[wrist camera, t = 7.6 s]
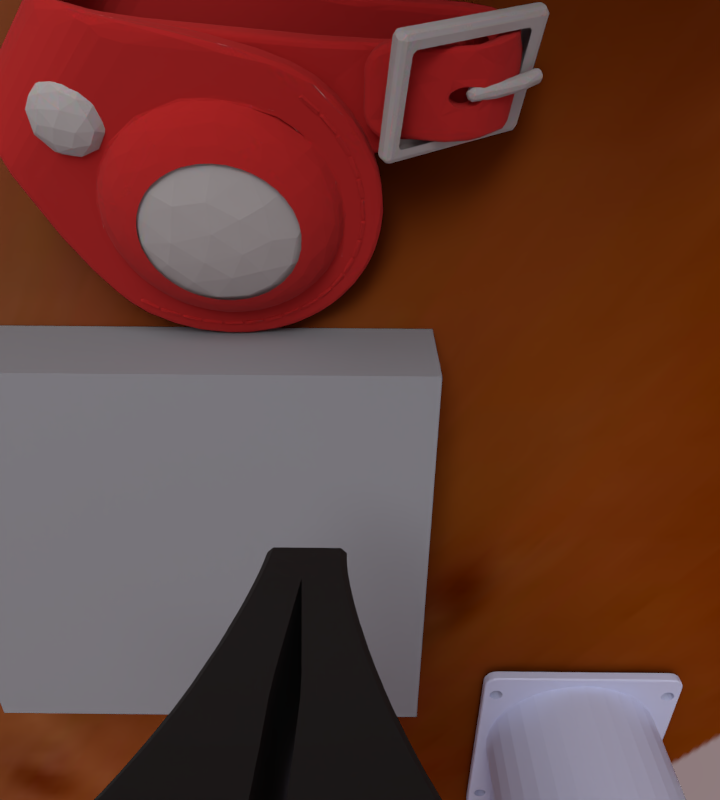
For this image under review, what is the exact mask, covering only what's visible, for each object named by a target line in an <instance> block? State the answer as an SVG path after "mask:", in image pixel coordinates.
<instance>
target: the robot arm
mask: <svg viewBox="0 0 720 800" xmlns="http://www.w3.org/2000/svg"><path fill="white" fill-rule="evenodd" d="M681 690H682V683H681V681H680V678H679V677H678V676H677V675H675V674H672V673H611V672H513V671H496V672H491V673H489V674H487V675H486V676H485V678H484V681H483V687H482V694H481V701H480V707H479V714H478V721H477V728H476V734H475V741H474V748H473V754H472V761H471V768H470V775H469V781H468V788H467V795H466V800H686V799H685V796H684V794H683V791H682V788H681V786H680V784H679V781H678V779H677V776H676V774H675V771H674V769H673V766H672V764H671V761H670V759H669V756H668V754H667V751H666V749H665V747H664V744H663V742H662V740H663V737H664V735H665V732H666V730H667V727H668V724H669V722H670V719H671V716H672V714H673V711H674V708H675V706H676V703H677V701H678V698H679V695H680V693H681ZM94 800H442V799H441V798H440V796H439V794H438V792H437V791H436V789H435V787H434V786H433V784H432V782H431V781H430V779H429V777H428V776H427V774H426V772H425V770H424V769H423V767H422V765H421V763H420V761H419V759H418V757H417V755H416V754H415V752H414V750H413V748H412V746H411V744H410V742H409V740H408V738H407V736H406V734H405V732H404V730H403V728H402V726H401V724H400V722H399V720H398V718H397V716H396V714H395V712H394V709H393V707H392V705H391V703H390V701H389V698H388V696H387V694H386V691H385V689H384V687H383V684H382V682H381V679H380V677H379V674H378V672H377V670H376V667H375V665H374V662H373V659H372V657H371V654H370V651H369V648H368V645H367V642H366V639H365V636H364V633H363V630H362V627H361V624H360V621H359V618H358V615H357V611H356V608H355V604H354V600H353V595H352V591H351V587H350V582H349V576H348V568H347V553H346V552H345V551H344V550H343V549H341V548H290V547H273V548H272V549H271V550H270V551H268V552H267V555H266V557H265V560H264V562H263V564H262V567H261V569H260V571H259V573H258V575H257V577H256V579H255V581H254V583H253V585H252V587H251V589H250V591H249V593H248V595H247V597H246V598H245V600H244V602H243V604H242V606H241V608H240V609H239V611H238V613H237V614H236V616H235V618H234V619H233V621H232V623H231V624H230V626H229V628H228V629H227V631H226V633H225V634H224V636H223V638H222V639H221V641H220V643H219V644H218V646H217V647H216V649H215V650H214V652H213V653H212V655H211V656H210V658H209V659H208V661H207V662H206V663H205V665H204V666H203V668H202V669H201V671H200V672H199V674H198V675H197V677H196V678H195V680H194V681H193V683H192V684H191V685H190V687H189V688H188V689H187V691H186V692H185V694H184V695H183V696H182V698H181V699H180V700H179V702H178V703H177V704H176V706H175V707H174V708H173V710H172V711H171V712H170V713H169V715H168V716H167V717H166V718H165V720H164V721H163V722H162V723H161V725H160V726H159V727H158V728H157V730H156V731H155V732H154V733H153V735H152V736H151V737H150V738H149V739H148V740H147V742H146V743H145V744H144V745H143V746H142V747H141V749H140V750H139V751H138V752H137V753H136V754H135V756H134V757H133V758H132V759H131V760H130V761H129V762H128V764H127V765H126V766H125V767H124V768H123V769H122V770H121V772H120V773H119V774H118V775H117V776H116V777H115V778H114V779H113V780H112V781H111V783H110V784H109V785H108V786H107V787H106V788H105V789H104V790H103V791H102V792H101V793H100V794H99V795H98V796H97V797H96V798H95V799H94Z"/></svg>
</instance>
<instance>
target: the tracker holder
mask: <svg viewBox="0 0 720 800" xmlns="http://www.w3.org/2000/svg"><path fill="white" fill-rule="evenodd" d="M548 16H549V11H548V9H547V6H546V5H545V4H543V3H542V2H537V3H531V4H526V5H520V6H515V7H509V8H504V9H499V10H498V9H495V8H493V7H489V6H484V5H478V4H473V3H468V2H460V1H447V0H22V2H21V5H20V7H19V9H18V11H17V13H16V16H15V18H14V20H13V22H12V25H11V27H10V29H9V31H8V33H7V36H6V38H5V40H4V42H3V44H2V47H1V49H0V157H1V158H2V160H3V162H4V163H5V165H6V167H7V168H8V170H9V172H10V173H11V175H12V176H13V177H14V179H15V180H16V181H17V182H18V184H19V185H20V186H21V187H22V189H23V190H24V191H25V192H26V193H27V195H28V196H29V197H30V198H31V200H32V201H33V202H34V203H35V205H36V206H37V207H38V208H39V209H40V211H41V212H42V213H43V214H44V216H45V217H46V218H47V219H48V221H49V222H50V223H51V224H52V225H53V227H54V228H55V229H56V230H57V232H58V233H59V234H60V235H61V237H62V238H63V239H64V240H65V241H66V242H67V243H68V244H69V245H70V246H71V247H72V248H73V249H74V250H75V251H76V252H77V253H78V254H79V255H80V257H81V258H82V259H83V260H84V261H85V262H86V263H87V264H88V265H89V266H90V267H91V268H92V269H93V270H94V271H95V272H96V273H97V274H98V275H100V276H101V277H102V278H103V279H104V280H105V281H106V282H107V283H108V284H110V285H111V286H112V287H113V288H114V289H115V290H116V291H117V292H119V293H120V294H121V295H122V296H124V297H125V298H126V299H127V300H129V301H130V302H131V303H133V304H135V305H137V306H138V307H140V308H142V309H143V310H145V311H147V312H148V313H151V314H153V315H156V316H159V317H161V318H164V319H166V320H169V321H172V322H174V323H178V324H182V325H186V326H189V327H193V328H197V329H203V330H212V331H221V332H254V331H262V330H269V329H274V328H279V327H283V326H286V325H290V324H293V323H296V322H299V321H301V320H303V319H306V318H308V317H310V316H312V315H314V314H316V313H318V312H320V311H322V310H323V309H325V308H326V307H328V306H329V305H331V304H332V303H333V302H335V301H336V300H337V299H339V298H340V297H341V296H342V295H343V294H344V293H345V292H346V291H347V290H348V289H349V288H350V287H351V286H352V285H353V284H354V283H355V282H356V281H357V279H358V278H359V276H360V275H361V274H362V272H363V271H364V269H365V268H366V266H367V265H368V263H369V261H370V259H371V257H372V255H373V253H374V250H375V248H376V244H377V241H378V237H379V234H380V230H381V223H382V216H383V199H382V184H381V178H380V172H379V167H378V164H377V161H376V158H375V155H374V154H375V153H377V152H378V154H379V157H380V158H381V159H382V160H383V161H384V162H385V163H389V164H390V163H394V162H397V161H401V160H405V159H408V158H412V157H416V156H419V155H423V154H427V153H430V152H434V151H437V150H441V149H445V148H448V147H452V146H456V145H459V144H463V143H467V142H470V141H474V140H478V139H481V138H485V137H489V136H492V135H496V134H499V133H503V132H507V131H510V130H513V129H514V127H515V126H516V125H517V121H518V118H519V114H520V111H521V108H522V104H523V101H524V97H525V94H526V91H527V89H528V88H530V87H532V86H534V85H536V84H538V83H540V82H541V80H542V78H543V74H542V72H541V70H540V69H539V68H534V69H533V67H534V63H535V60H536V57H537V53H538V50H539V46H540V43H541V40H542V36H543V33H544V29H545V26H546V23H547V19H548Z"/></svg>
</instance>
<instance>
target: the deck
mask: <svg viewBox="0 0 720 800" xmlns="http://www.w3.org/2000/svg"><path fill="white" fill-rule="evenodd" d="M441 387H442V373H441V368H440V363H439V359H438V354H437V349H436V344H435V340H434V335H433V330H432V329H361V328H274V329H269V330H262V331H254V332H221V331H212V330H203V329H197V328H193V327H111V326H0V703H1V705H2V708H3V710H4V713H92V714H169V713H170V712H171V711H172V710H173V708H174V707H175V706H176V704H177V703H178V702H179V700H180V699H181V698H182V696H183V695H184V694H185V692H186V691H187V689H188V688H189V687H190V685H191V684H192V683H193V681H194V680H195V678H196V677H197V675H198V674H199V672H200V671H201V669H202V668H203V666H204V665H205V663H206V662H207V661H208V659H209V658H210V656H211V655H212V653H213V652H214V650H215V649H216V647H217V646H218V644H219V643H220V641H221V639H222V638H223V636H224V634H225V633H226V631H227V629H228V628H229V626H230V624H231V623H232V621H233V619H234V618H235V616H236V614H237V613H238V611H239V609H240V608H241V606H242V604H243V602H244V600H245V598H246V597H247V595H248V593H249V591H250V589H251V587H252V585H253V583H254V581H255V579H256V577H257V575H258V573H259V571H260V569H261V567H262V564H263V562H264V560H265V557H266V555H267V552H268V551H270V550H271V549H272V548H273V547H290V548H341V549H343V550H344V551H345V552H346V553H347V568H348V576H349V582H350V587H351V591H352V595H353V600H354V604H355V608H356V611H357V615H358V618H359V621H360V624H361V627H362V630H363V633H364V636H365V639H366V642H367V645H368V648H369V651H370V654H371V657H372V659H373V662H374V665H375V667H376V670H377V672H378V674H379V677H380V679H381V682H382V684H383V687H384V689H385V691H386V694H387V696H388V698H389V701H390V703H391V705H392V707H393V709H394V712H395V714H396V716H397V717H417V704H418V691H419V678H420V664H421V651H422V638H423V625H424V611H425V598H426V585H427V572H428V559H429V545H430V532H431V519H432V506H433V492H434V479H435V466H436V453H437V439H438V426H439V413H440V400H441Z"/></svg>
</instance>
